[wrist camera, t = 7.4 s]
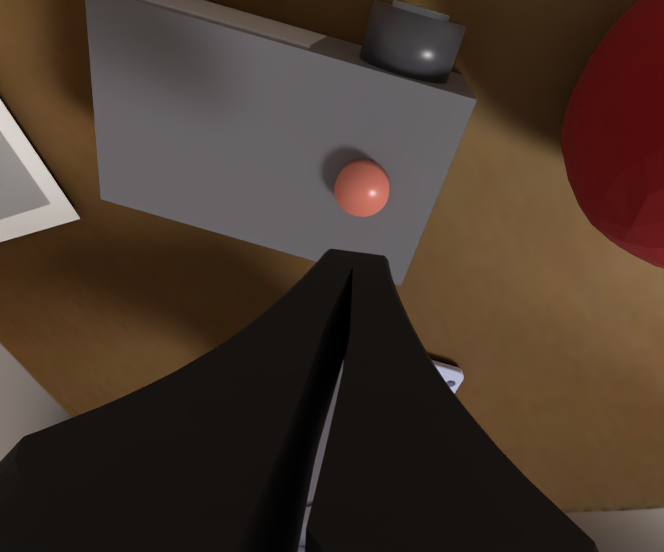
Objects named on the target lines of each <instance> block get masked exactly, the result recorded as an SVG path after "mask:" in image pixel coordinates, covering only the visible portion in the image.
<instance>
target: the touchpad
mask: <svg viewBox="0 0 664 552" xmlns="http://www.w3.org/2000/svg"><path fill="white" fill-rule="evenodd" d="M78 219H80V217H79V216H78V214H77V213H76V211H75V210H74V208H73V207H72V205H71V204H70V202H69V201H68V199H67V198H66V196H65V195H64V193H63V192H62V190H61V189H60V187H59V186H58V184H57V183H56V181H55V180H54V178H53V177H52V175H51V174H50V172H49V171H48V169H47V168H46V166H45V165H44V164H43V162H42V161H41V159H40V158H39V156H38V155H37V153H36V152H35V150H34V149H33V147H32V146H31V144H30V143H29V141H28V140H27V138H26V137H25V135H24V134H23V132H22V131H21V129H20V128H19V126H18V125H17V123H16V122H15V120H14V119H13V117H12V116H11V114H10V113H9V111H8V110H7V108H6V107H5V105H4V104H3V102H2V101H1V99H0V242H2V241H6V240H9V239H13V238H16V237H20V236H23V235H27V234H30V233H33V232H37V231H40V230H44V229H47V228H51V227H54V226H58V225H61V224H64V223H68V222H71V221H75V220H78Z"/></svg>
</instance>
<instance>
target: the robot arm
mask: <svg viewBox="0 0 664 552" xmlns="http://www.w3.org/2000/svg"><path fill="white" fill-rule="evenodd" d="M463 378H464V376H463V371H462V370H461V369H460V368H458V367H455V366H451V365H448V364H444V363H441V362H437V361H434V360H431V358H430V357H429V355H428V354H427V352H426V350H425V348H424V347H423V345H422V343H421V341H420V339H419V338H418V336H417V334H416V332H415V330H414V328H413V326H412V324H411V322H410V320H409V318H408V316H407V314H406V311H405V309H404V307H403V305H402V302H401V300H400V298H399V295H398V293H397V290H396V287H395V284H394V281H393V278H392V275H391V271H390V267H389V261H388V259H387V258H386V257H385V256H384V255H377V254H369V253H361V252H354V251H346V250H338V249H331V248H330V249H329V250H328V251H326V252H325V253H324V254H323V256H322V257H321V258H320V259H319V260H318V261H317V263H316V264H315V265H314V266H313V267H312V268H311V269H310V270H309V271H308V272H307V273H306V274H305V275H304V276H303V278H302V279H300V280H299V281H298V282H297V283H296V284H295V285H294V286H293V287H292V288H291V289H290V290H289V291H288V292H287V293H286V294H285V295H284V296H283V297H282V298H281V299H279V300H278V301H277V302H276V303H275V304H274V305H272V306H271V307H270V308H269V309H268V310H266V311H265V312H264V313H263V314H262V315H260V316H259V317H258V318H257V319H256V320H254V321H253V322H252V323H250V324H249V325H248V326H246V327H245V328H244V329H242V330H241V331H240V332H238V333H237V334H235V335H234V336H232V337H231V338H230V339H228V340H227V341H225V342H224V343H222V344H221V345H219V346H218V347H216V348H214V349H213V350H211V351H210V352H208V353H206V354H205V355H203V356H201V357H199V358H198V359H196V360H194V361H192V362H191V363H189V364H187V365H186V366H184V367H182V368H180V369H179V370H177V371H175V372H173V373H171V374H169V375H167V376H165V377H163V378H161V379H159V380H157V381H155V382H153V383H151V384H149V385H147V386H145V387H143V388H141V389H139V390H137V391H134V392H132V393H130V394H128V395H126V396H124V397H122V398H119V399H117V400H115V401H113V402H110V403H108V404H106V405H103V406H101V407H99V408H96V409H93V410H91V411H88V412H86V413H83V414H81V415H78V416H76V417H73V418H71V419H68V420H66V421H63V422H61V423H58V424H56V425H53V426H51V427H48V428H46V429H43V430H40V431H38V432H35V433H32V434H29V435H27V436H24V437H23V438H22V439H21V440H20V441H19V442H18V443H17V444H16V445H15V446H14V448H13V449H12V450H11V451H10V452H9V453H8V454H7V455H6V456H5V457H4V458H3V460H2V461H1V462H0V552H599V551H598V549H597V547H596V544H595V542H594V541H593V540H592V539H591V538H590V537H589V536H588V535H586V534H585V533H584V532H583V531H582V530H581V529H580V528H579V527H578V526H577V525H576V524H575V523H574V522H573V521H572V520H570V519H569V517H567V516H566V515H565V514H564V513H563V512H562V511H561V510H560V509H559V508H558V507H557V506H556V505H555V504H554V503H553V502H552V501H550V500H549V499H548V498H547V497H546V496H545V495H544V494H543V493H542V492H541V491H540V490H539V489H538V488H537V487H536V486H535V485H534V484H532V483H531V482H530V481H529V480H528V479H527V478H526V477H525V476H524V475H523V474H522V472H521V471H520V470H519V469H518V468H517V467H516V466H515V465H514V464H513V463H512V462H511V461H510V460H509V459H508V458H507V457H506V455H505V454H504V453H503V452H502V451H501V450H500V449H499V448H498V447H497V446H496V444H495V443H494V442H493V441H492V440H491V438H490V437H489V436H488V435H487V434H486V432H485V431H484V430H483V429H482V428H481V426H480V425H479V424H478V423H477V422H476V420H475V419H474V418H473V417H472V416H471V414H470V413H469V412H468V411H467V410H466V408H465V407H464V406H463V405H462V403H461V402H460V401H459V399H458V398H457V397H456V395H455V394H454V393H455V392H456V390H457V389H458V387H459V385H460V384H461V382H462V380H463ZM449 380H453V381H452V382H449Z"/></svg>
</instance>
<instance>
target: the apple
mask: <svg viewBox="0 0 664 552" xmlns="http://www.w3.org/2000/svg"><path fill="white" fill-rule="evenodd" d="M560 143H561V147H562V152H563V157H564V162H565V166H566V171H567V176H568V180H569V183H570V185H571V187H572V190H573V192H574V195H575V197H576V199H577V202H578V204H579V206H580V208H581V209H582V211H583V212H584V214H585V215H586V217H587V218H588V220H589V221H590V223H591V224H592V225H593V226H594V227H595V228H596V229H598V230H599V231H600V232H601V233H602V234H603V235H605V236H606V237H607V238H608V239H609V240H610V241H612V242H613V243H614V244H616V245H617V246H619V247H620V248H622V249H624V250H625V251H627V252H629V253H630V254H632V255H634V256H636V257H638V258H640V259H642V260H644V261H646V262H648V263H650V264H652V265H654V266H657V267H660V268H663V269H664V0H637V1H636V2H635V3H634V4H633V5H632V6H631V7H630V8H629V9H628V10H627V11H626V12H625V13H624V14H623V15H621V16H620V18H619V19H618V20H617V21H616V22H615V23H614V25H613V26H612V27H611V29H610V30H609V31H608V33H607V34H606V35H605V37H604V38H603V39H602V41H601V42H600V44H599V45H598V46H597V48H596V49H595V50H594V52H593V53H592V54H591V56H590V58H589V60H588V62H587V64H586V66H585V68H584V70H583V71H582V73H581V75H580V77H579V79H578V81H577V83H576V85H575V87H574V89H573V91H572V93H571V96H570V99H569V102H568V105H567V107H566V110H565V113H564V119H563V126H562V133H561V140H560Z"/></svg>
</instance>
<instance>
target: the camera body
mask: <svg viewBox="0 0 664 552" xmlns="http://www.w3.org/2000/svg"><path fill="white" fill-rule="evenodd" d="M85 6H86V19H87V32H88V44H89V57H90V69H91V82H92V95H93V107H94V120H95V132H96V145H97V157H98V170H99V183H100V195H101V199H102V200H105V201H109V202H112V203H116V204H119V205H123V206H126V207H130V208H133V209H136V210H140V211H143V212H147V213H150V214H154V215H157V216H161V217H164V218H168V219H171V220H175V221H178V222H181V223H185V224H188V225H192V226H195V227H199V228H202V229H206V230H209V231H213V232H216V233H219V234H223V235H226V236H230V237H233V238H237V239H240V240H244V241H247V242H251V243H254V244H257V245H261V246H264V247H268V248H271V249H275V250H278V251H282V252H285V253H289V254H292V255H296V256H299V257H302V258H306V259H309V260H313V261H316V262H317V261H318V260H319V259H320V258H321V257H322V256H323V254H324V253H325V252H326V251H328V250H329V249H330V248H331V249H338V250H346V251H354V252H361V253H369V254H377V255H384V256H385V257H386V258H387V259H388V261H389V267H390V271H391V275H392V278H393V281H394V284H396V285H399V286H401V285H402V282H403V280H404V277H405V275H406V272H407V270H408V267H409V265H410V263H411V260H412V258H413V255H414V253H415V250H416V248H417V246H418V243H419V241H420V238H421V236H422V233H423V231H424V228H425V226H426V224H427V221H428V219H429V216H430V214H431V211H432V209H433V206H434V204H435V202H436V199H437V197H438V194H439V192H440V189H441V187H442V185H443V182H444V180H445V177H446V175H447V172H448V170H449V167H450V165H451V163H452V160H453V158H454V155H455V153H456V150H457V148H458V146H459V143H460V141H461V138H462V136H463V133H464V131H465V128H466V126H467V124H468V121H469V119H470V116H471V114H472V111H473V109H474V106H475V104H476V102H477V99H476V97H475V95H474V94H473V92H472V90H471V88H470V87H469V85H468V83H467V81H466V80H465V78H464V76H463V75H462V74H458V73H455V72H451V70H452V67H453V64H454V61H455V59H456V56H457V53H458V50H459V47H460V45H461V42H462V39H463V36H464V34H465V31H466V28H467V27H466V26H463V25H461V24H458V23H455V22H452V21H449V17H450V16H449V15H446V14H443V13H440V12H437V11H433V10H430V9H427V8H423V7H420V6H416V5H413V4H409V3H405V2H402V1H398V0H393V3H392V4H391V3H387V2H382V1H378V0H373V3H372V7H371V11H370V15H369V19H368V23H367V27H366V31H365V35H364V39H363V43H362V45H358V44H355V43H351V42H348V41H344V40H341V39H338V38H334V37H331V36H327V35H324V34H320V33H317V32H313V31H310V30H307V29H303V28H300V27H296V26H293V25H289V24H286V23H282V22H279V21H275V20H272V19H269V18H265V17H262V16H258V15H255V14H251V13H248V12H244V11H241V10H238V9H234V8H231V7H227V6H224V5H220V4H217V3H213V2H210V1H206V0H85Z"/></svg>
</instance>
